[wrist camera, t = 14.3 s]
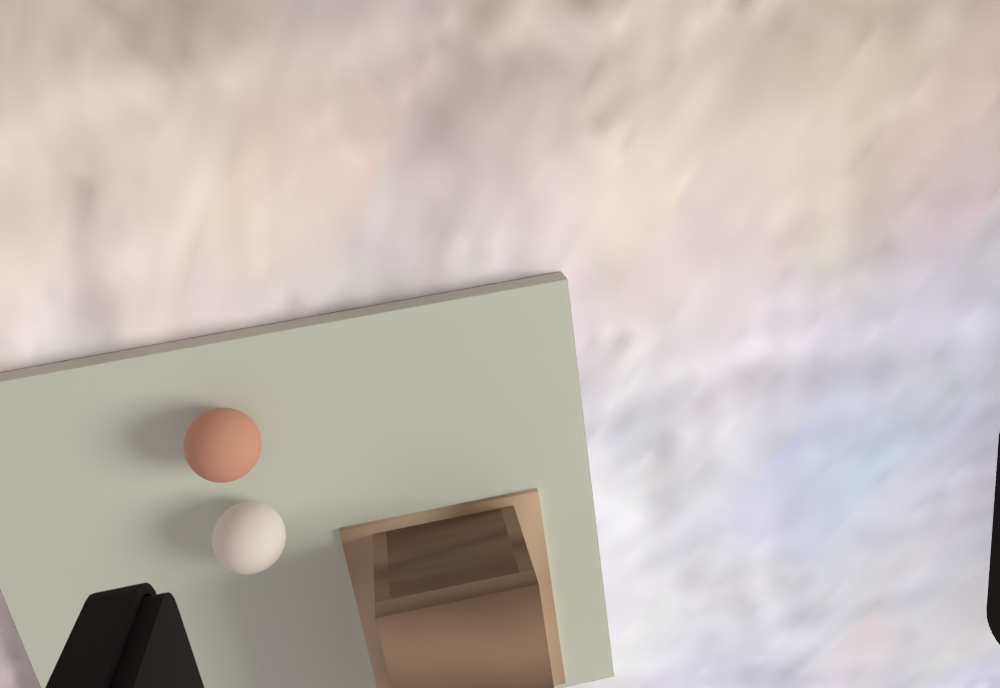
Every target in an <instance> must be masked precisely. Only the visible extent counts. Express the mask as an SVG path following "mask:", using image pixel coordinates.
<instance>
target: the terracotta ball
mask: <svg viewBox="0 0 1000 688" xmlns="http://www.w3.org/2000/svg"><path fill="white" fill-rule="evenodd" d="M261 447H262V440H261V435H260V432H259V429H258V427H257V425H256V424H255V423H254V421H253V420H252V419H251V418H250V417H249V416H248V415H246V414H245V413H243V412H241V411H239V410H236V409H232V408H215V409H212V410H209V411H206V412H204V413H203V414H201V415H200V416H198V417H197V418H196V419H195V420H194V421H193V422H192V423H191V425H190V426H189V428H188V430H187V432H186V434H185V438H184V455H185V458H186V461H187V463H188V465H189V466H190V468H191V469H192V470H193V471H194V472H195V473H196V474H197V475H199V476H200V477H202V478H203V479H206V480H208V481H211V482H218V483H225V482H231V481H235V480H237V479H239V478H241V477H243V476H244V475H246V474H247V473H248V472H249V471H251V469H252V468H253V467H254V466H255V464H256V463H257V461H258V459H259V456H260V453H261Z"/></svg>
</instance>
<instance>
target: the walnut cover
mask: <svg viewBox="0 0 1000 688" xmlns="http://www.w3.org/2000/svg"><path fill="white" fill-rule="evenodd" d="M373 561H374V593H375V620H376V624H377V628H378V632H379V637H380V641H381V645H382V650H383V654H384V658H385V663H386V667H387V671H388V676H389V680H390V684H391V688H554V684H553V677H552V670H551V663H550V657H549V650H548V643H547V636H546V630H545V623H544V616H543V609H542V602H541V596H540V589H539V583H538V580H537V577H536V574H535V571H534V568H533V564H532V561H531V558H530V555H529V552H528V549H527V546H526V543H525V539H524V536H523V533H522V530H521V527H520V524H519V521H518V518H517V514H516V511H515V508H514V506H509V507H504V508H499V509H494V510H489V511H484V512H479V513H474V514H469V515H464V516H459V517H454V518H449V519H444V520H439V521H434V522H429V523H424V524H420V525H415V526H410V527H405V528H400V529H395V530H390V531H385V532H380V533H375V534H373Z"/></svg>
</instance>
